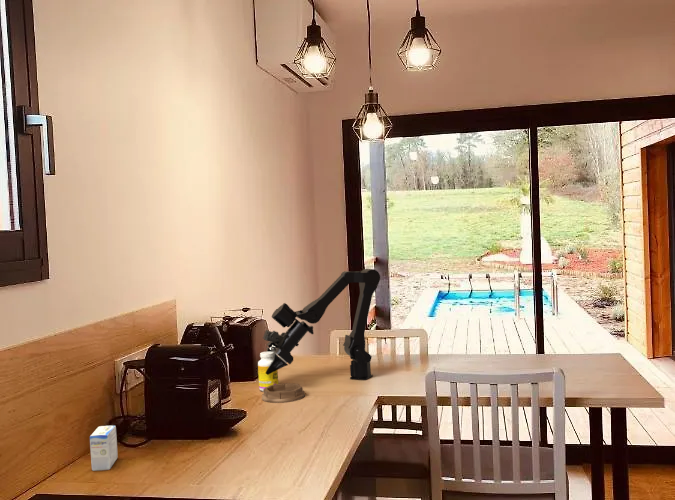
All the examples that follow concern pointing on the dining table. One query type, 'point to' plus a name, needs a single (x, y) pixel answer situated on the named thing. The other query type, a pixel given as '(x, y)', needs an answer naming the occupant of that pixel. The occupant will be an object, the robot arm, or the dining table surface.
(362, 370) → the robot arm
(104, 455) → the medicine box
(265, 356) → the supplement bottle
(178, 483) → the dining table surface
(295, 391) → the cup stand
